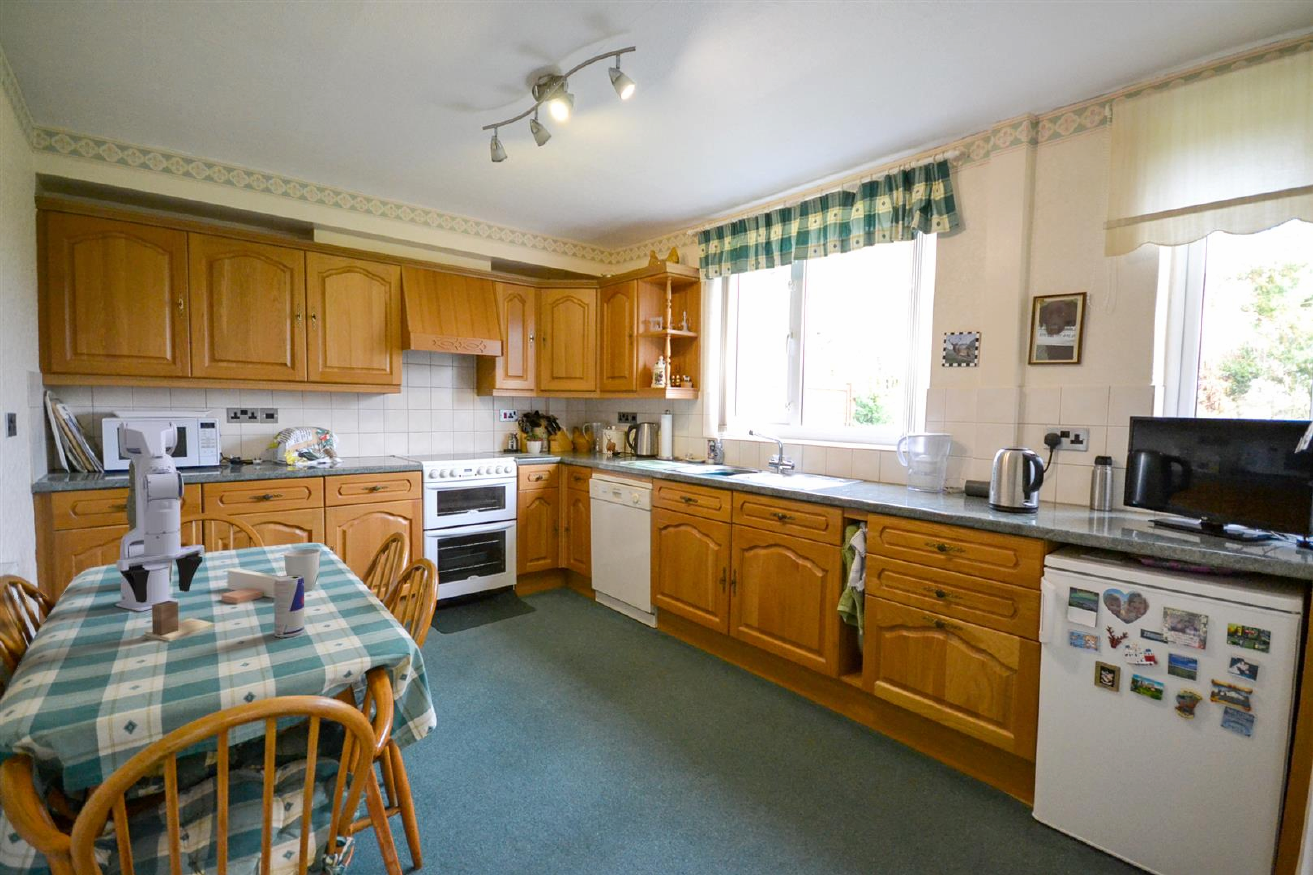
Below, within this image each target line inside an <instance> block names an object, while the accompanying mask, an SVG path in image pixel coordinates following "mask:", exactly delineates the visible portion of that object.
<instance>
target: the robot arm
mask: <svg viewBox="0 0 1313 875" xmlns="http://www.w3.org/2000/svg"><path fill="white" fill-rule="evenodd" d="M118 443H119V454H120V456H121V457H124V458H127V459H130V461H131V460H132V462H133V464H134V466H135V489H136V528H134V529H133V530H132V531H130V532H129V531H128V532H127V533H126V534H124V535H123V536H122V538H121V539H120V546H119V547H120V548H119V550H120V551H119V553H120V554H119V555H120V556H119V557H120V558H119V559H116V562H115V564H116V570H117V571H119V572H120V574H121V578H120V603H116V604H115V606H116V607H119V608H124V609H128V610H132V611H135V612H143V611H147V610H152V605H154V604H157V603H161V602H165V601H174V602H178V603H179V599H178V598H175V597H174V598H173V597H171V596H170V595H171V594H170V593H171V592H170V589H171V588H170V582H169V567H171V563H172V564H174V563H176V567H177V572H178V588H179V591H180V592H185V593H187V592H189V591H190V589H191V588H190V587H191V584H192V581H193V579H194V576H195V573H196V572H197V570H198V569H199V566H200V565H201V564H202V562H203V556H202V555H205V554H206V553H205V545H203V544H194V545H188V546H187V545H186V546H181V545H182V542H181V539H182V538H181V536H182V535H181V531H182V530H181V501H182V500H183V497H184V494H185V492H184V491H185V489H184V488H185V485H184V478H183V475H182V474H183V473H181V471H179V470H177V468H176V464H175V461H174V458H173V457H172V455H173V452H174V451H175V449H176V447H177V444H178V427H177V425H176V423H175V422H173V421H169V422H153V421H152V422H147V421H146V422H143V421H142V422H139V421H138V422H137V421H135V422H133V421H132V422H131V421H130V422H129V421H127V422H126V421H122V422H120V423H119V425H118ZM137 540H144V541H140V542H134V541H137Z"/></svg>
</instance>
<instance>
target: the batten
mask: <svg viewBox="0 0 1313 875" xmlns="http://www.w3.org/2000/svg"><path fill="white" fill-rule="evenodd" d="M226 571H227V574H226V575H227V590H231V591H237V590H240V589H244V588H250V589H255V590H261V591H263V597H267V598H270V599H274V583H275V579H276V578H278V577H280V576H281V575H275V574H270V573H264V572H258V571H254V570H248V569H247V570H246V569H240V568H231V569H228V570H226Z"/></svg>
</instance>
